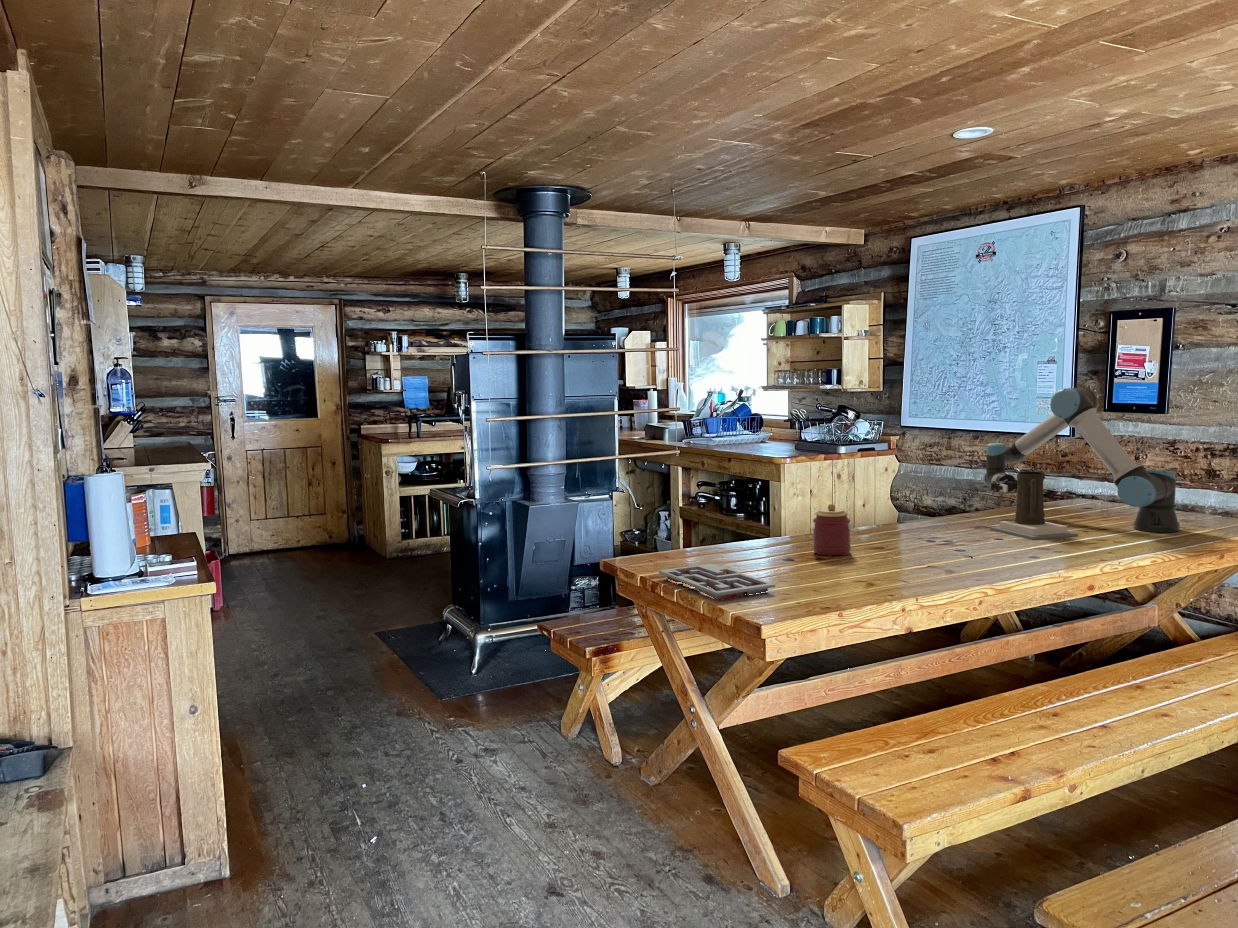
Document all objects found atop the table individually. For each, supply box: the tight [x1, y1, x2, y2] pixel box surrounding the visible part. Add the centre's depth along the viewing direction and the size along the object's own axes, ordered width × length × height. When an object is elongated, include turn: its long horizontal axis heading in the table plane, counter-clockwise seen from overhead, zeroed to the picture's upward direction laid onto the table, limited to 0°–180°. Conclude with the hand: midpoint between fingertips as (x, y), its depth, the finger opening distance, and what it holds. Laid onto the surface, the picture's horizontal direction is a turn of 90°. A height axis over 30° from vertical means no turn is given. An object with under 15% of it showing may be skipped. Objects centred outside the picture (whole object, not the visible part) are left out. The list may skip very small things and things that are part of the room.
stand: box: [989, 519, 1079, 540], centre depth 341 cm, size 20×24×4 cm
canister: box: [812, 503, 852, 557], centre depth 312 cm, size 13×13×18 cm
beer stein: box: [1014, 471, 1046, 525], centre depth 341 cm, size 15×11×20 cm
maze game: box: [658, 563, 776, 601], centre depth 268 cm, size 35×20×3 cm, turn 25°
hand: (1024, 488), depth 348 cm, fingers open, 13 cm apart
